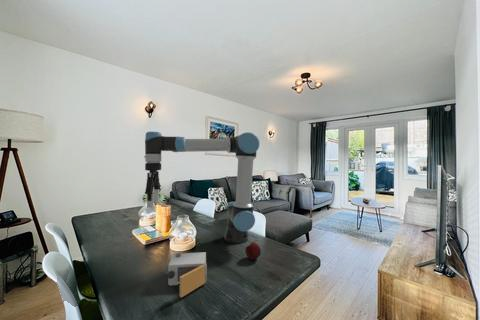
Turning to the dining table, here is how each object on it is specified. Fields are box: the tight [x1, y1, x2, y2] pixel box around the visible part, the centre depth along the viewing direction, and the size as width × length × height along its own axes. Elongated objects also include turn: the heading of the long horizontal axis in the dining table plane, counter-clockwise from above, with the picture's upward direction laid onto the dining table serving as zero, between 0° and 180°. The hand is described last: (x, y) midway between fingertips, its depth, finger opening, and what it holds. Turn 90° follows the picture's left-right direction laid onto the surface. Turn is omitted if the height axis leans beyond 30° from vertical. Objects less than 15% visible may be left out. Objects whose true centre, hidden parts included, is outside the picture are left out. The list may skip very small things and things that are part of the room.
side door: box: [179, 263, 208, 298], centre depth 77 cm, size 12×1×7 cm, turn 141°
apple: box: [245, 241, 262, 261], centre depth 103 cm, size 7×8×8 cm
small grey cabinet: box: [167, 251, 207, 286], centre depth 86 cm, size 14×11×9 cm
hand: (153, 204), depth 104 cm, fingers open, 13 cm apart
